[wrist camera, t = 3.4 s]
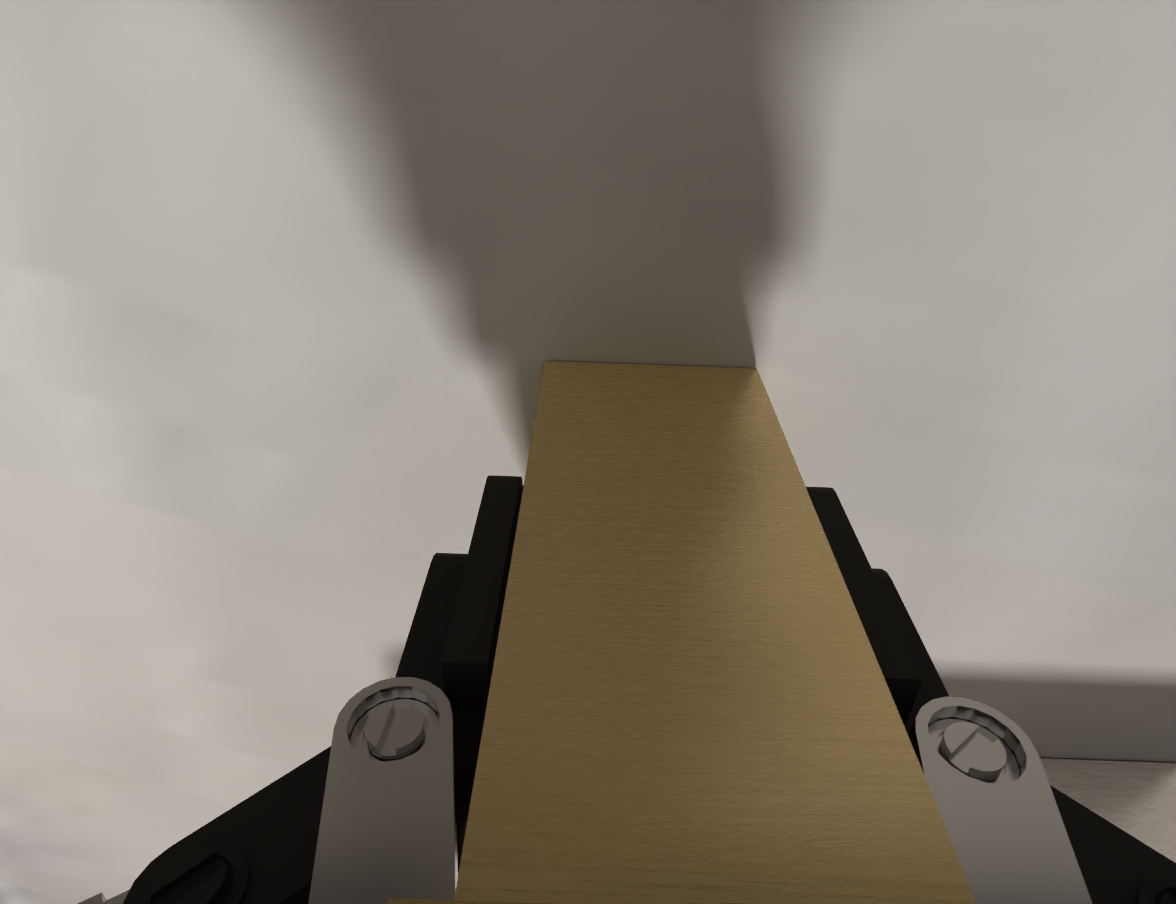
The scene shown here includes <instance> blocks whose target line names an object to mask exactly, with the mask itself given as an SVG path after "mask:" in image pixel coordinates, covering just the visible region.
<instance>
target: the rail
mask: <svg viewBox="0 0 1176 904" xmlns="http://www.w3.org/2000/svg"><path fill="white" fill-rule="evenodd" d="M1040 759H1041V762H1042V765H1043V768H1044V771H1045V773H1046V776H1047V779H1048V782H1049V784H1050V785H1051V786H1053V787H1054V788H1056V789H1057V790H1059V791H1061V792H1062V793H1064V794H1066V795H1067V796H1069V797H1070V798H1072V799H1074V800H1075V801H1077V802H1078V803H1080V804H1082V805H1083V806H1085V807H1086V808H1088V809H1090V810H1091V811H1093V812H1094V813H1096V814H1098V815H1099V816H1101V817H1103V818H1104V819H1106V820H1107V821H1109V822H1111V823H1112V824H1114V825H1115V826H1117V827H1119V828H1120V829H1122V830H1123V831H1125V832H1127V833H1128V834H1130V835H1131V836H1133V837H1135V838H1136V839H1138V840H1139V841H1141V842H1143V843H1144V844H1146V845H1148V846H1149V847H1151V848H1152V849H1154V850H1156V851H1157V852H1159V853H1160V854H1162V855H1164V856H1165V857H1167V858H1168V859H1170V860H1172V861H1173V862H1175V863H1176V763H1155V762H1128V761H1100V760H1072V759H1045V758H1040Z"/></svg>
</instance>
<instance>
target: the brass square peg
mask: <svg viewBox="0 0 1176 904" xmlns="http://www.w3.org/2000/svg"><path fill="white" fill-rule="evenodd" d="M387 904H977V902H976V899H975V897H974V894H973V892H972V889H971V887H970V885H969V882H968V880H967V877H966V875H965V873H964V870H963V868H962V865H961V863H960V860H959V858H958V856H957V853H956V851H955V848H954V846H953V843H952V841H951V839H950V836H949V834H948V831H947V829H946V826H945V824H944V822H943V819H942V817H941V814H940V812H939V809H938V807H937V805H936V802H935V800H934V797H933V795H932V792H931V790H930V788H929V785H928V783H927V780H926V778H925V775H924V773H923V771H922V768H921V766H920V763H919V761H918V758H917V756H916V754H915V751H914V749H913V746H912V744H911V741H910V739H909V737H908V734H907V732H906V729H905V727H904V724H903V722H902V720H901V717H900V715H899V712H898V710H897V707H896V705H895V703H894V700H893V698H892V695H891V693H890V690H889V688H888V686H887V683H886V681H885V678H884V676H883V674H882V671H881V669H880V666H879V664H878V661H877V659H876V657H875V654H874V652H873V649H872V647H871V644H870V642H869V640H868V637H867V635H866V632H865V630H864V627H863V625H862V623H861V620H860V618H859V615H858V613H857V610H856V608H855V606H854V603H853V601H852V598H851V596H850V593H849V591H848V589H847V586H846V584H845V581H844V579H843V576H842V574H841V572H840V569H839V567H838V564H837V562H836V559H835V557H834V555H833V552H832V550H831V547H830V545H829V542H828V540H827V538H826V535H825V533H824V530H823V528H822V525H821V523H820V521H819V518H818V516H817V513H816V511H815V508H814V506H813V504H812V501H811V499H810V496H809V494H808V491H807V489H806V487H805V484H804V482H803V479H802V477H801V475H800V472H799V470H798V467H797V465H796V462H795V460H794V458H793V455H792V453H791V450H790V448H789V445H788V443H787V441H786V438H785V436H784V433H783V431H782V428H781V426H780V424H779V421H778V419H777V416H776V414H775V411H774V409H773V407H772V404H771V402H770V399H769V397H768V394H767V392H766V390H765V387H764V385H763V382H762V380H761V377H760V375H759V373H758V370H757V368H729V367H701V366H673V365H645V364H617V363H589V362H561V361H545V363H544V369H543V375H542V380H541V386H540V392H539V398H538V404H537V410H536V416H535V422H534V428H533V434H532V440H531V446H530V452H529V458H528V464H527V470H526V475H525V481H524V487H523V493H522V499H521V505H520V511H519V517H518V523H517V529H516V535H515V541H514V547H513V553H512V559H511V565H510V570H509V576H508V582H507V588H506V594H505V600H504V606H503V612H502V618H501V624H500V630H499V636H498V642H497V648H496V654H495V660H494V666H493V671H492V677H491V683H490V689H489V695H488V701H487V707H486V713H485V719H484V725H483V731H482V737H481V743H480V749H479V755H478V761H477V766H476V772H475V778H474V784H473V790H472V796H471V802H470V808H469V814H468V820H467V826H466V832H465V838H464V844H463V850H462V856H461V861H460V867H459V873H458V879H457V885H456V891H455V897H454V900H436V899H409V898H388V901H387Z"/></svg>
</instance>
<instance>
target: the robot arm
mask: <svg viewBox="0 0 1176 904" xmlns="http://www.w3.org/2000/svg"><path fill="white" fill-rule="evenodd" d="M523 487H524V486H523V485H522V477H515V476H488V477H487V480H486V484H485V488H484V492H483V496H482V500H481V504H480V508H479V512H478V516H477V520H476V524H475V528H474V532H473V537H472V541H471V545H470V549H469V553H468V554H450V553H436V554H435V555H434V556H433V559H432V561H431V564H430V567H429V571H428V574H427V577H426V580H425V584H424V587H423V590H422V593H421V597H420V600H419V603H418V606H417V609H416V613H415V616H414V619H413V622H412V626H411V629H410V632H409V635H408V638H407V642H406V645H405V648H404V651H403V655H402V658H401V661H400V664H399V667H398V671H397V674H396V677H395V678H390V679H386V680H382V681H378V682H376V683H374V684H372V685H370V686H368V687H366V688H364V689H362V690H361V691H360V692H358V693H357V694H356V695H355V696H353V697H352V698H351V699H350V700H349V701H348V702H347V703H346V705H345V706H344V707H343V709H342V710H341V711H340V713H339V715H338V718H337V721H336V724H335V727H334V731H333V738H332V745H331V747H329V748H327V749H326V750H324V751H323V752H321V753H319V754H318V755H316V756H315V757H313V758H311V759H310V760H308V761H307V762H305V763H303V764H302V765H300V766H299V767H297V768H295V769H294V770H292V771H291V772H289V773H287V774H286V775H284V776H283V777H281V778H279V779H278V780H276V781H275V782H273V783H271V784H270V785H268V786H267V787H265V788H264V789H262V790H260V791H259V792H257V793H256V794H254V795H252V796H251V797H249V798H248V799H246V800H244V801H243V802H241V803H240V804H238V805H236V806H235V807H233V808H232V809H230V810H228V811H227V812H225V813H224V814H222V815H220V816H219V817H217V818H216V819H214V820H212V821H211V822H209V823H208V824H206V825H204V826H203V827H201V828H200V829H198V830H196V831H195V832H193V833H192V834H190V835H188V836H187V837H185V838H184V839H182V840H181V841H179V842H177V843H176V844H174V845H173V846H171V847H170V848H168V849H167V850H166V851H164V852H163V853H162V854H161V855H159V856H158V857H157V858H155V859H154V860H153V861H152V862H151V863H150V864H149V865H148V866H147V867H146V868H145V870H144V871H143V872H142V873H141V874H140V875H139V876H138V878H137V879H136V880H135V881H134V883H133V885H132V887H131V889H130V890H128V891H126V892H124V893H121V894H119V895H117V896H115V897H113V898H111V899H109V900H106V899H105V897H104V895H103V893H99V894H97V895H95V896H93V897H91V898H89V899H87V900H84V901H82V902H80V903H78V904H387V901H388V898H409V899H436V900H454V897H455V891H456V885H457V879H458V873H459V867H460V861H461V856H462V850H463V844H464V838H465V832H466V826H467V820H468V814H469V808H470V802H471V796H472V790H473V784H474V778H475V772H476V766H477V761H478V755H479V749H480V743H481V737H482V731H483V725H484V719H485V713H486V707H487V701H488V695H489V689H490V683H491V677H492V671H493V666H494V660H495V654H496V648H497V642H498V636H499V630H500V624H501V618H502V612H503V606H504V600H505V594H506V588H507V582H508V576H509V570H510V565H511V559H512V553H513V547H514V541H515V535H516V529H517V523H518V517H519V511H520V505H521V499H522V493H523ZM806 489H807V491H808V494H809V496H810V499H811V501H812V504H813V506H814V508H815V511H816V513H817V516H818V518H819V521H820V523H821V525H822V528H823V530H824V533H825V535H826V538H827V540H828V542H829V545H830V547H831V550H832V552H833V555H834V557H835V559H836V562H837V564H838V567H839V569H840V572H841V574H842V576H843V579H844V581H845V584H846V586H847V589H848V591H849V593H850V596H851V598H852V601H853V603H854V606H855V608H856V610H857V613H858V615H859V618H860V620H861V623H862V625H863V627H864V630H865V632H866V635H867V637H868V640H869V642H870V644H871V647H872V649H873V652H874V654H875V657H876V659H877V661H878V664H879V666H880V669H881V671H882V674H883V676H884V678H885V681H886V683H887V686H888V688H889V690H890V693H891V695H892V698H893V700H894V703H895V705H896V707H897V710H898V712H899V715H900V717H901V720H902V722H903V724H904V727H905V729H906V732H907V734H908V737H909V739H910V741H911V744H912V746H913V749H914V751H915V754H916V756H917V758H918V761H919V763H920V766H921V768H922V771H923V773H924V775H925V778H926V780H927V783H928V785H929V788H930V790H931V792H932V795H933V797H934V800H935V802H936V805H937V807H938V809H939V812H940V814H941V817H942V819H943V822H944V824H945V826H946V829H947V831H948V834H949V836H950V839H951V841H952V843H953V846H954V848H955V851H956V853H957V856H958V858H959V860H960V863H961V865H962V868H963V870H964V873H965V875H966V877H967V880H968V882H969V885H970V887H971V889H972V892H973V894H974V897H975V899H976V902H977V904H1176V863H1175V862H1173V861H1172V860H1170V859H1168V858H1167V857H1165V856H1164V855H1162V854H1160V853H1159V852H1157V851H1156V850H1154V849H1152V848H1151V847H1149V846H1148V845H1146V844H1144V843H1143V842H1141V841H1139V840H1138V839H1136V838H1135V837H1133V836H1131V835H1130V834H1128V833H1127V832H1125V831H1123V830H1122V829H1120V828H1119V827H1117V826H1115V825H1114V824H1112V823H1111V822H1109V821H1107V820H1106V819H1104V818H1103V817H1101V816H1099V815H1098V814H1096V813H1094V812H1093V811H1091V810H1090V809H1088V808H1086V807H1085V806H1083V805H1082V804H1080V803H1078V802H1077V801H1075V800H1074V799H1072V798H1070V797H1069V796H1067V795H1066V794H1064V793H1062V792H1061V791H1059V790H1057V789H1056V788H1054V787H1053V786H1051V785H1050V784H1049V782H1048V779H1047V776H1046V773H1045V771H1044V768H1043V765H1042V762H1041V759H1040V757H1039V754H1038V752H1037V750H1036V748H1035V747H1034V745H1033V743H1032V741H1031V739H1030V738H1029V737H1028V736H1027V735H1026V733H1025V732H1024V731H1023V730H1022V729H1021V728H1020V727H1019V726H1018V725H1017V724H1016V723H1015V722H1014V721H1012V720H1011V719H1010V718H1008V717H1007V716H1005V715H1004V714H1003V713H1001V712H1000V711H998V710H996V709H994V708H992V707H990V706H988V705H986V704H984V703H981V702H978V701H974V700H971V699H967V698H964V697H949V695H948V693H947V691H946V689H945V687H944V685H943V683H942V681H941V679H940V677H939V675H938V673H937V671H936V669H935V666H934V664H933V662H932V660H931V658H930V656H929V654H928V652H927V650H926V648H925V646H924V644H923V642H922V640H921V638H920V636H919V634H918V632H917V630H916V628H915V626H914V624H913V622H912V620H911V618H910V616H909V614H908V612H907V610H906V608H905V606H904V604H903V602H902V600H901V598H900V596H899V594H898V592H897V590H896V588H895V586H894V584H893V582H892V580H891V578H890V576H889V575H888V573H887V572H886V571H884V570H882V569H871V567H870V564H869V562H868V560H867V558H866V556H865V554H864V552H863V550H862V547H861V545H860V543H859V541H858V539H857V537H856V535H855V533H854V530H853V528H852V526H851V524H850V522H849V520H848V518H847V515H846V513H845V511H844V509H843V507H842V505H841V503H840V501H839V498H838V496H837V494H836V492H835V491H834V489H833V488H825V487H806Z"/></svg>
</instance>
